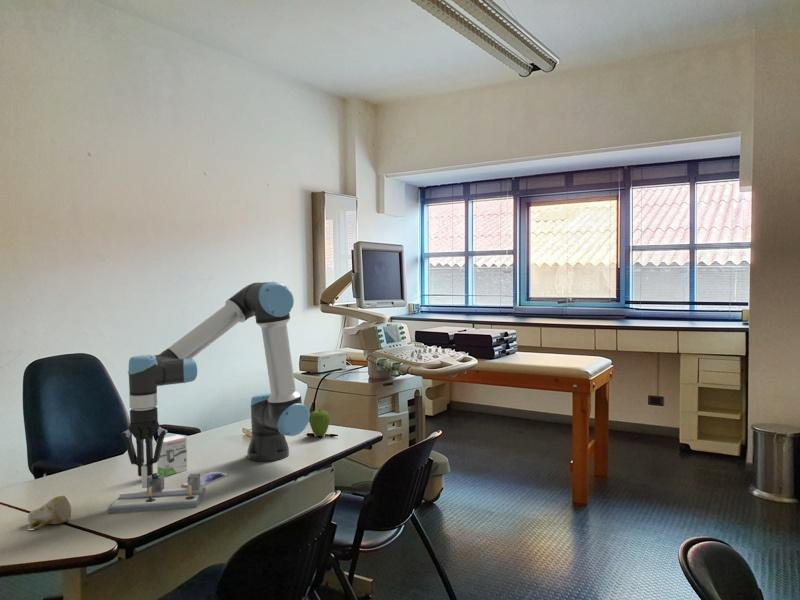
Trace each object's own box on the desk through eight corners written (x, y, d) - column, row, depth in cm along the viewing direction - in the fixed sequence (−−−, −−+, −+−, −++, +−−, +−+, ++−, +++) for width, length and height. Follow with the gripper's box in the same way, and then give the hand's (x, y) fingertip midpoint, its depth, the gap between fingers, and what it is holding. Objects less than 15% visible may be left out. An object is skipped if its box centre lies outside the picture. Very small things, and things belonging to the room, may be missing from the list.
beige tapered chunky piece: (31, 521, 158) (52, 486, 160) (62, 536, 157) (83, 501, 160) (15, 525, 151) (37, 488, 153) (48, 541, 150) (69, 505, 152)
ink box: (164, 476, 192) (163, 441, 192) (156, 474, 195) (155, 439, 195) (187, 470, 199) (187, 436, 199) (180, 467, 202) (179, 434, 202)
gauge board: (205, 491, 178) (205, 470, 178) (196, 507, 165) (196, 484, 165) (123, 496, 175) (123, 475, 174) (108, 513, 162) (107, 490, 162)
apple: (312, 433, 245) (312, 406, 245) (332, 433, 245) (331, 406, 244) (307, 439, 237) (306, 411, 236) (327, 439, 236) (326, 411, 236)
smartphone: (230, 473, 193) (196, 487, 180) (230, 476, 193) (196, 490, 180) (213, 470, 196) (179, 484, 183) (213, 473, 196) (179, 487, 183)
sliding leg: (164, 489, 174) (163, 471, 174) (157, 498, 166) (156, 480, 166) (150, 490, 173) (149, 472, 173) (142, 499, 166) (142, 481, 166)
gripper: (169, 404, 176) (171, 480, 176) (124, 406, 174) (127, 483, 174) (163, 409, 168) (165, 489, 169) (116, 411, 166) (118, 492, 167)
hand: (145, 486), depth 172 cm, fingers closed
